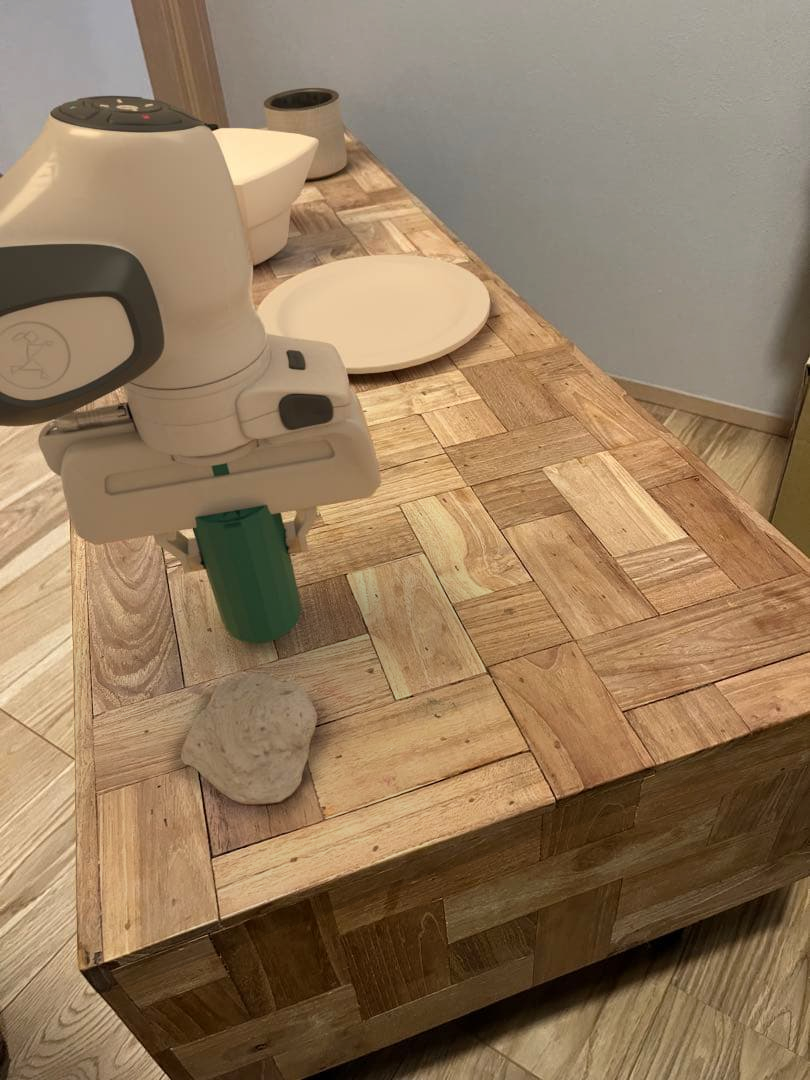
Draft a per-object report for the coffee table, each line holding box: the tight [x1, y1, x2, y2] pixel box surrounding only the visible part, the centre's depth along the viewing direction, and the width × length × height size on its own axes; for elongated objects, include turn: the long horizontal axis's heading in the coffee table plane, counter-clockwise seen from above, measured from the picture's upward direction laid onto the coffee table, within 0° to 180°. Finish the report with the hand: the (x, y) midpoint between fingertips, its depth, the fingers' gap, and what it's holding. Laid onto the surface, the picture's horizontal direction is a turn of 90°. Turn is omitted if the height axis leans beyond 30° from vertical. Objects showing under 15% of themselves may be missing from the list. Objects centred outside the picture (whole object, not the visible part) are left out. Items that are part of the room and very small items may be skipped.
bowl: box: [212, 127, 319, 266], centre depth 112 cm, size 19×19×14 cm
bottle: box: [192, 463, 302, 645], centre depth 58 cm, size 6×6×16 cm
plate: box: [256, 254, 491, 375], centre depth 99 cm, size 28×28×2 cm
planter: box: [263, 87, 348, 182], centre depth 137 cm, size 12×12×11 cm
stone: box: [180, 672, 318, 805], centre depth 56 cm, size 10×5×10 cm
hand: (247, 556), depth 59 cm, fingers closed on bottle, 6 cm apart
